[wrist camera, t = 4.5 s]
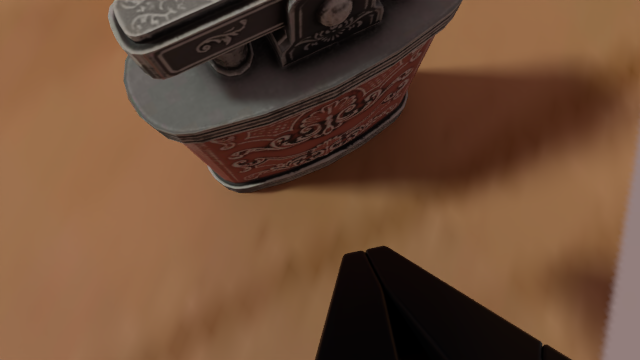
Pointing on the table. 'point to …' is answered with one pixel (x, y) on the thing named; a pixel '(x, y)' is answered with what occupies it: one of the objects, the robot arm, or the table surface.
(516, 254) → the table surface
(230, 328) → the table surface
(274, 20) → the lighter
